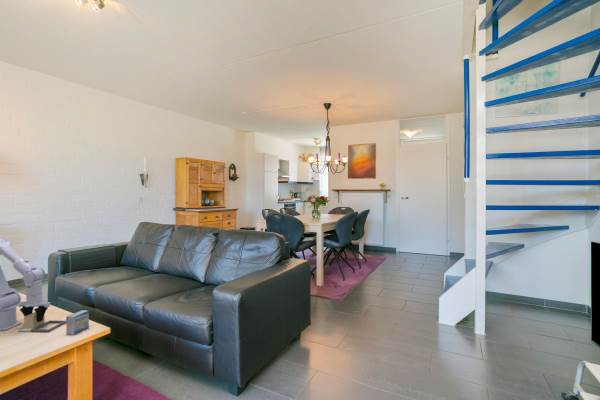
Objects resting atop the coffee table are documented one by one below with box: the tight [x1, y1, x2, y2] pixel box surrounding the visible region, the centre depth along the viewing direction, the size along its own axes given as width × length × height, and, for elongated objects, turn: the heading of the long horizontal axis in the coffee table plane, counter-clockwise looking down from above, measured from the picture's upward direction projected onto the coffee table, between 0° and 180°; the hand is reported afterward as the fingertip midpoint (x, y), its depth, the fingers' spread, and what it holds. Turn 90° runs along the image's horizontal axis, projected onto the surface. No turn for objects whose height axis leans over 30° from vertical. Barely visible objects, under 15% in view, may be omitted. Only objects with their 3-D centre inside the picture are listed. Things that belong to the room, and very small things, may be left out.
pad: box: [17, 321, 47, 333], centre depth 143 cm, size 6×10×1 cm, turn 178°
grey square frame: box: [30, 319, 66, 333], centre depth 143 cm, size 9×10×1 cm
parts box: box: [23, 311, 46, 329], centre depth 143 cm, size 4×6×6 cm
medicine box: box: [65, 309, 90, 336], centre depth 139 cm, size 8×4×9 cm, turn 168°
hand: (34, 321), depth 143 cm, fingers open, 5 cm apart
